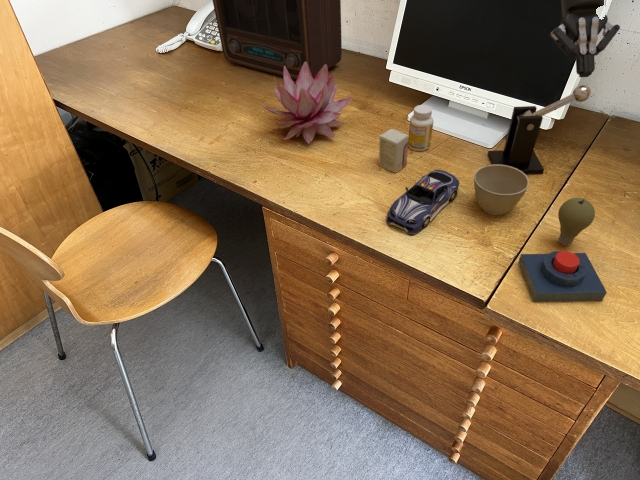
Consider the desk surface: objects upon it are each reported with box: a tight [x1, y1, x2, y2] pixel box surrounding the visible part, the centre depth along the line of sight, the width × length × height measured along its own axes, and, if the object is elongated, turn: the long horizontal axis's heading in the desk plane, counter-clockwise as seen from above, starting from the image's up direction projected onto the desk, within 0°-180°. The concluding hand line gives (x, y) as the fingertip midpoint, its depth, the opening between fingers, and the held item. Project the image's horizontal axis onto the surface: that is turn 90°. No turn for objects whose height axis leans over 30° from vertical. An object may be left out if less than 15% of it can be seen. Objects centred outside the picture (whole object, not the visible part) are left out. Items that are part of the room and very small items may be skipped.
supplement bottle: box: [408, 104, 434, 152], centre depth 111 cm, size 5×5×10 cm
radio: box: [212, 0, 343, 80], centre depth 143 cm, size 36×18×30 cm, turn 54°
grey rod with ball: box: [516, 84, 592, 120], centre depth 97 cm, size 14×3×3 cm
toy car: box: [385, 169, 460, 235], centre depth 96 cm, size 8×18×5 cm, turn 139°
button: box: [553, 250, 580, 274], centre depth 78 cm, size 4×4×2 cm
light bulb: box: [557, 197, 596, 246], centre depth 84 cm, size 6×6×10 cm
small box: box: [378, 128, 409, 174], centre depth 106 cm, size 5×4×8 cm
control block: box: [517, 250, 608, 303], centre depth 80 cm, size 11×9×4 cm
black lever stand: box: [487, 105, 545, 175], centre depth 102 cm, size 10×8×13 cm
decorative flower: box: [260, 62, 353, 145], centre depth 117 cm, size 21×21×15 cm
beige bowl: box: [473, 164, 530, 216], centre depth 93 cm, size 10×10×7 cm
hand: (585, 75), depth 93 cm, fingers closed
